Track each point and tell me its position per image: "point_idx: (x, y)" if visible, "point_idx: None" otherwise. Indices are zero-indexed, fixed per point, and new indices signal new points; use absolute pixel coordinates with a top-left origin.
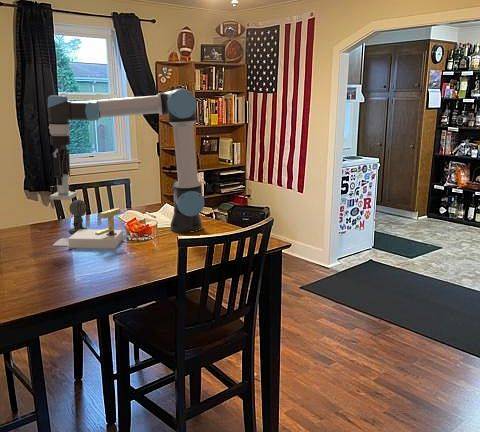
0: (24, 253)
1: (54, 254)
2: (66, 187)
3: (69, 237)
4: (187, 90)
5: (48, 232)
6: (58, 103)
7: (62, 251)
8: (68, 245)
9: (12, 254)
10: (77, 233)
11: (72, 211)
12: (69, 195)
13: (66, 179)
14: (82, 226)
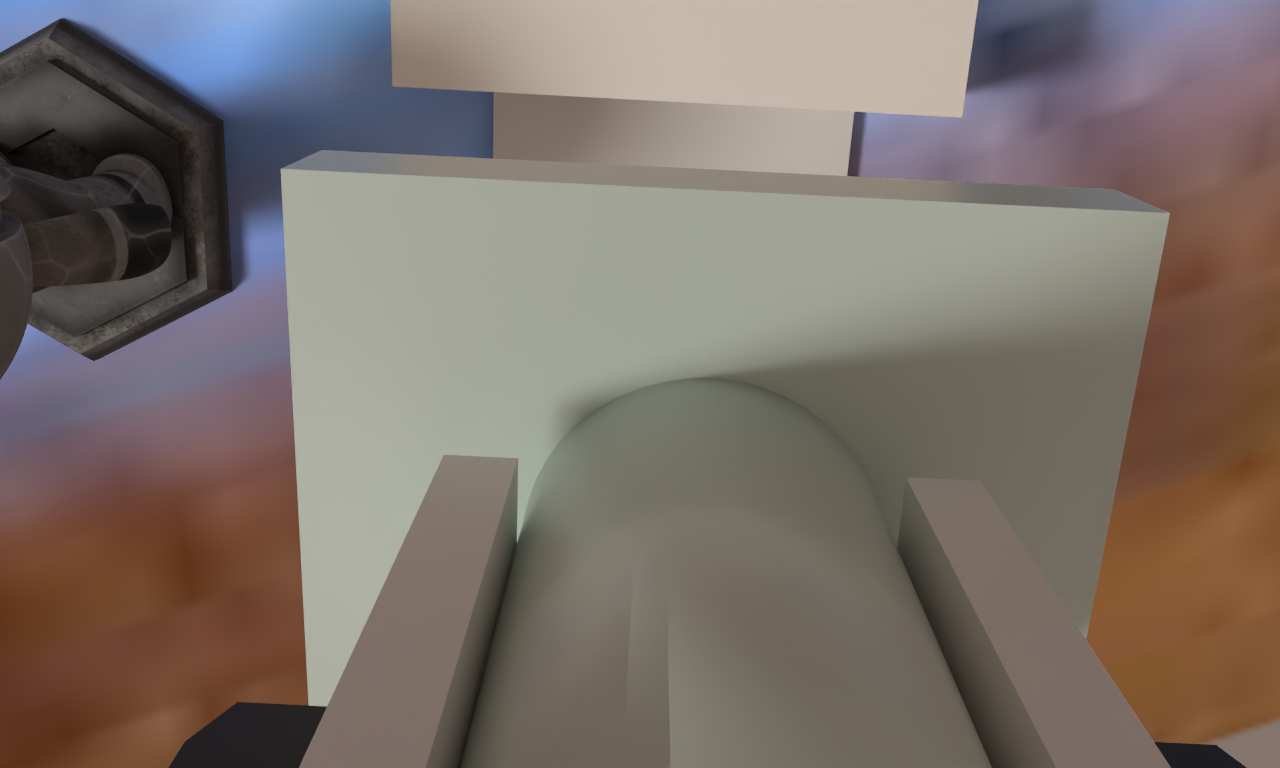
0: (1113, 584)
1: (1211, 211)
2: (843, 521)
3: (904, 113)
4: None
5: (195, 602)
6: None
7: (1089, 142)
8: (847, 131)
9: (1133, 695)
10: (664, 46)
11: (17, 344)
12: (1010, 250)
13: (881, 761)
14: None
